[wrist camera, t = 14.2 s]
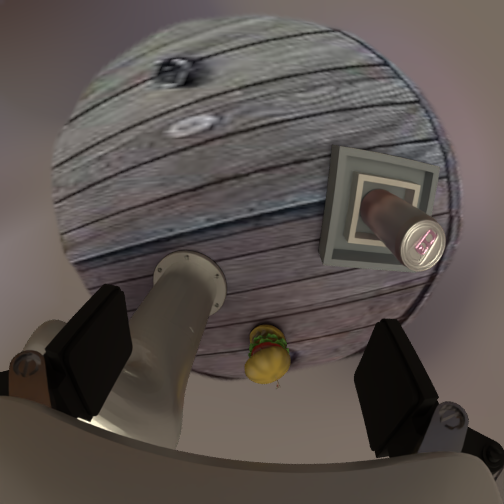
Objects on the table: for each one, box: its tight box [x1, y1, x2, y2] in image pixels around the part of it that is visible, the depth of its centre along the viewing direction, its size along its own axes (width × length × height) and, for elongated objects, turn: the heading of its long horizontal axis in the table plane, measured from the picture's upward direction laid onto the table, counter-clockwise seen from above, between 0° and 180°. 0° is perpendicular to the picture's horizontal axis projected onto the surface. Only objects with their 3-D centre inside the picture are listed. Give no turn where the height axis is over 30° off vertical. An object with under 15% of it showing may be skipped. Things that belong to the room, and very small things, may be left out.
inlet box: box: [318, 145, 440, 273], centre depth 37 cm, size 16×16×5 cm
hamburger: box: [245, 325, 290, 389], centre depth 44 cm, size 8×7×12 cm
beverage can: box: [360, 189, 445, 271], centre depth 31 cm, size 6×6×15 cm
